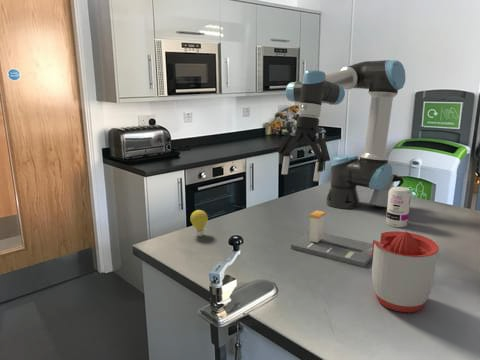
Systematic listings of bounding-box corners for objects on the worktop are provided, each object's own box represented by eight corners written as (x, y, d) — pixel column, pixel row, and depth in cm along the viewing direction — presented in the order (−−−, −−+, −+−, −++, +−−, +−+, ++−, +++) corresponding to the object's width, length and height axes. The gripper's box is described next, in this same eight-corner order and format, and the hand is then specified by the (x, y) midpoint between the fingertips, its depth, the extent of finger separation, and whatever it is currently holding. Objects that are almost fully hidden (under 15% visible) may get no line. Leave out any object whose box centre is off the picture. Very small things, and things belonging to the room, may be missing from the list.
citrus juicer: (375, 278, 118) (380, 215, 113) (438, 298, 107) (447, 229, 102) (353, 301, 106) (357, 232, 101) (421, 326, 95) (430, 249, 90)
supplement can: (404, 221, 164) (407, 186, 160) (410, 228, 156) (414, 191, 152) (383, 220, 165) (386, 185, 161) (389, 227, 157) (392, 191, 153)
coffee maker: (364, 203, 177) (371, 163, 177) (363, 202, 186) (370, 164, 185) (399, 209, 174) (407, 169, 173) (397, 208, 182) (404, 169, 181)
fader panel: (310, 233, 152) (310, 229, 152) (379, 249, 138) (379, 245, 137) (290, 248, 139) (290, 244, 139) (364, 267, 125) (364, 262, 124)
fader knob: (315, 235, 145) (316, 210, 142) (323, 237, 143) (324, 212, 140) (308, 240, 141) (309, 214, 138) (317, 242, 139) (318, 216, 136)
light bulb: (187, 236, 151) (186, 211, 148) (197, 230, 157) (196, 206, 154) (202, 239, 148) (201, 214, 145) (211, 233, 154) (211, 209, 151)
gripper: (273, 113, 142) (265, 171, 145) (335, 118, 126) (324, 184, 128) (286, 115, 148) (278, 171, 150) (346, 120, 131) (336, 183, 134)
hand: (299, 177), depth 139 cm, fingers open, 13 cm apart
